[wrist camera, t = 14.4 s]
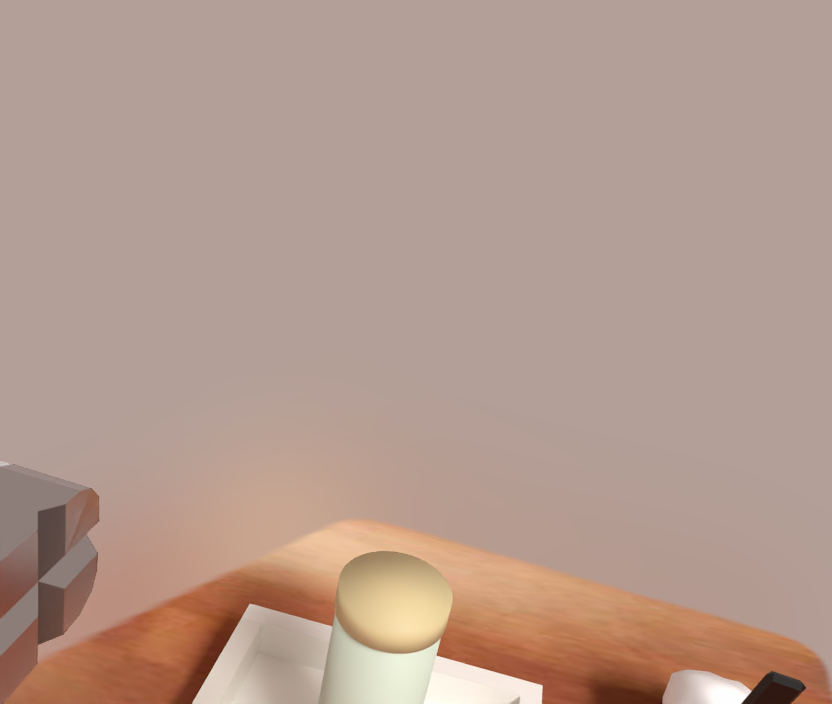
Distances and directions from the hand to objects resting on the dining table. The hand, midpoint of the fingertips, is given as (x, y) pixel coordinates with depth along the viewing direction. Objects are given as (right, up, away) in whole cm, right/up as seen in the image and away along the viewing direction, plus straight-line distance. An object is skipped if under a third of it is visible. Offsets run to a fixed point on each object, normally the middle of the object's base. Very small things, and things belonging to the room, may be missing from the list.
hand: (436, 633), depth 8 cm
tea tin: (-4, -19, +28) cm, 34 cm away
